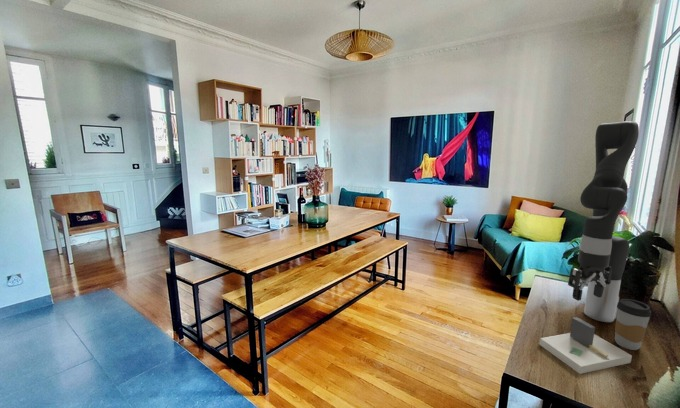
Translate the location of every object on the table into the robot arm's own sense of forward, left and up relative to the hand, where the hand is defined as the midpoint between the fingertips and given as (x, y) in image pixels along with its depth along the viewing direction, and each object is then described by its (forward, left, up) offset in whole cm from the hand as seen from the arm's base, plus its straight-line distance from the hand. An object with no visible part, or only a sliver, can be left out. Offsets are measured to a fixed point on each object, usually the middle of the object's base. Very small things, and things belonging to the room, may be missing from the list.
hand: (587, 297), depth 98 cm
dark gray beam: (0, +3, -16) cm, 16 cm away
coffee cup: (-18, +2, -19) cm, 26 cm away
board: (+1, +2, -18) cm, 19 cm away
